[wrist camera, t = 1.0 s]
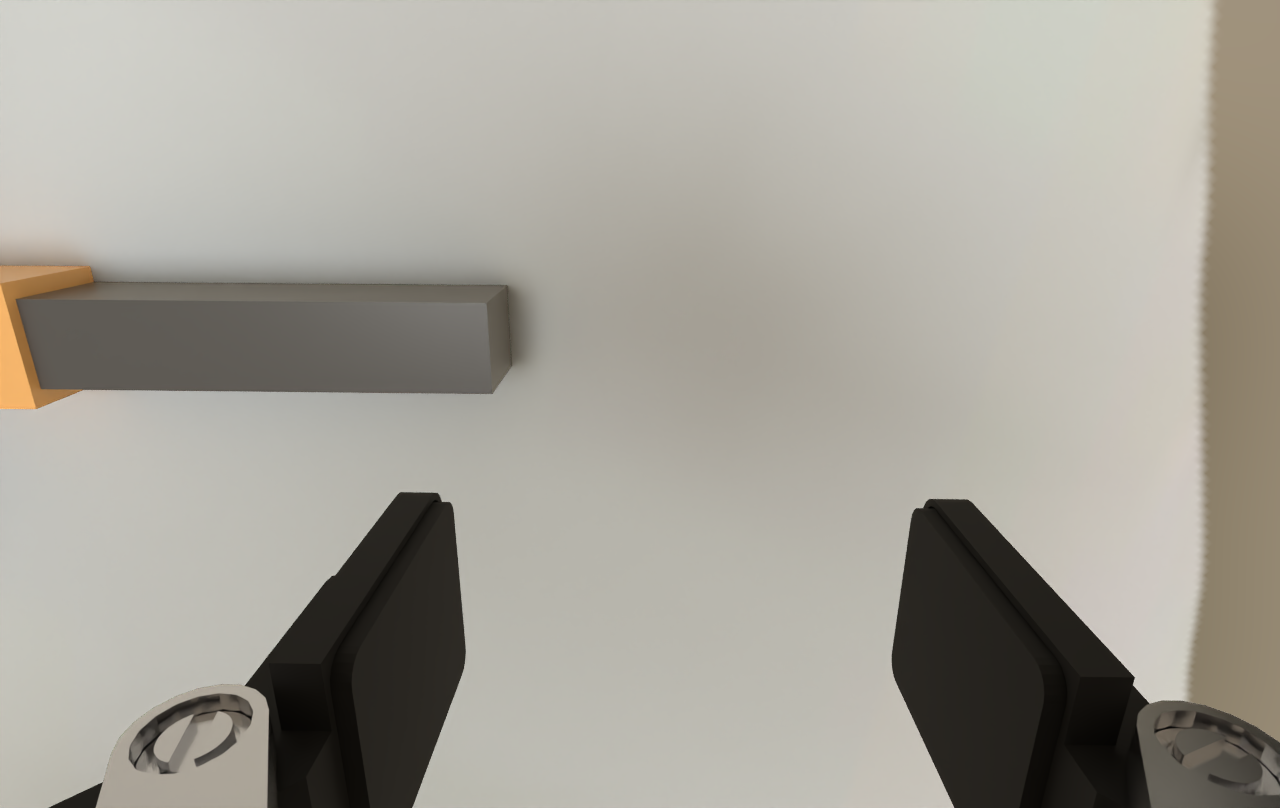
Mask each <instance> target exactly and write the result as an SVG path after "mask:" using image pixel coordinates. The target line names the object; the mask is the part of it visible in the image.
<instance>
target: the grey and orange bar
mask: <svg viewBox="0 0 1280 808" xmlns="http://www.w3.org/2000/svg"><path fill="white" fill-rule="evenodd" d="M511 366H512V362H511V344H510V326H509V308H508V290H507V285H418V284H290V283H162V282H94V280H93V276H92V272H91V268H90V266H0V409H37V408H40V407H42V406H45V405H47V404H50V403H52V402H55V401H57V400H60V399H62V398H65V397H67V396H70V395H72V394H75V393H77V392H79V391H82V390H165V391H263V392H360V393H458V394H493V392H494V391H495V389H496V388H497V387H498V385H499V384H500V382H501V381H502V379H503V378H504V376H505V375H506V373H507V372H508V371H509V369H510V368H511Z"/></svg>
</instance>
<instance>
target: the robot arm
mask: <svg viewBox="0 0 1280 808" xmlns="http://www.w3.org/2000/svg"><path fill="white" fill-rule="evenodd" d="M465 654H466V649H465V636H464V624H463V613H462V602H461V591H460V579H459V568H458V557H457V545H456V534H455V523H454V512H453V507H452V504H451V503H450V502H441V498H440V496H439V494H438V493H412V492H400V493H399V494H398V495H397V496H396V497H395V499H394V500H393V501H392V503H391V504H390V505H389V506H388V508H387V509H386V510H385V512H384V513H383V514H382V516H381V517H380V518H379V519H378V521H377V522H376V523H375V525H374V526H373V527H372V529H371V530H370V531H369V532H368V534H367V535H366V536H365V538H364V539H363V540H362V542H361V543H360V544H359V545H358V547H357V548H356V549H355V551H354V552H353V553H352V555H351V556H350V557H349V559H348V560H347V561H346V562H345V564H344V565H343V566H342V568H341V569H340V570H339V572H338V573H337V574H336V575H335V576H332V577H331V578H329V579H328V580H327V581H326V582H325V584H324V585H323V586H322V587H321V589H320V590H319V591H318V593H317V594H316V595H315V596H314V598H313V599H312V600H311V602H310V603H309V604H308V605H307V607H306V608H305V609H304V611H303V612H302V613H301V614H300V616H299V617H298V618H297V620H296V621H295V622H294V623H293V625H292V626H291V627H290V628H289V630H288V631H287V632H286V634H285V635H284V636H283V637H282V639H281V640H280V641H279V643H278V644H277V645H276V646H275V648H274V649H273V650H272V652H271V653H270V654H269V655H268V657H267V658H266V659H265V661H264V662H263V663H262V664H261V666H260V667H259V668H258V670H257V671H256V672H255V673H254V675H253V676H252V677H251V679H250V680H249V681H248V682H247V684H246V685H245V686H243V685H232V684H220V685H214V686H209V687H203V688H198V689H195V690H192V691H189V692H187V693H184V694H181V695H178V696H175V697H173V698H171V699H169V700H167V701H166V702H164V703H162V704H160V705H158V706H156V707H154V708H152V709H151V710H150V711H148V712H147V713H146V714H144V715H143V716H141V717H140V718H139V719H137V720H136V721H135V722H133V724H132V725H131V726H130V727H129V728H128V729H127V730H126V731H125V732H124V733H123V734H122V735H121V736H120V737H119V739H118V741H117V743H116V745H115V747H114V749H113V751H112V753H111V755H110V759H109V762H108V766H107V769H106V773H105V777H104V780H103V782H102V783H100V784H98V785H96V786H94V787H92V788H90V789H88V790H85V791H83V792H81V793H79V794H77V795H75V796H73V797H70V798H68V799H66V800H64V801H62V802H60V803H58V804H55V805H53V806H51V807H49V808H412V807H413V804H414V802H415V799H416V796H417V794H418V791H419V788H420V786H421V783H422V780H423V777H424V775H425V772H426V769H427V767H428V764H429V761H430V759H431V756H432V753H433V751H434V748H435V745H436V743H437V740H438V737H439V735H440V732H441V729H442V727H443V724H444V721H445V719H446V716H447V713H448V711H449V708H450V705H451V703H452V700H453V697H454V695H455V692H456V689H457V687H458V684H459V681H460V678H461V676H462V673H463V669H464V664H465ZM892 669H893V674H894V678H895V681H896V683H897V685H898V687H899V690H900V692H901V694H902V696H903V698H904V700H905V702H906V705H907V707H908V709H909V711H910V713H911V715H912V718H913V720H914V722H915V724H916V726H917V728H918V730H919V733H920V735H921V737H922V739H923V741H924V743H925V745H926V748H927V750H928V752H929V754H930V756H931V758H932V761H933V763H934V765H935V767H936V769H937V771H938V773H939V776H940V778H941V780H942V782H943V784H944V786H945V789H946V791H947V793H948V795H949V797H950V799H951V801H952V804H953V806H954V808H1280V742H1278V741H1277V740H1275V739H1274V738H1272V737H1271V736H1269V735H1268V734H1266V733H1265V732H1263V731H1262V730H1260V729H1259V728H1257V727H1256V726H1254V725H1251V724H1249V723H1247V722H1245V721H1243V720H1241V719H1239V718H1237V717H1235V716H1233V715H1231V714H1228V713H1225V712H1223V711H1220V710H1217V709H1214V708H1211V707H1208V706H1206V705H1200V704H1196V703H1191V702H1186V701H1158V702H1155V703H1151V704H1149V702H1148V701H1147V700H1146V699H1145V698H1144V697H1143V696H1142V695H1141V694H1140V693H1139V692H1138V690H1137V689H1136V688H1135V687H1134V686H1133V682H1134V678H1135V677H1134V676H1133V675H1132V674H1131V673H1130V672H1129V671H1128V670H1127V669H1126V668H1125V666H1124V665H1123V664H1122V663H1121V662H1120V661H1119V660H1118V659H1117V658H1116V657H1115V656H1114V655H1113V654H1112V653H1111V651H1110V650H1109V649H1108V648H1107V647H1106V646H1105V645H1104V644H1103V643H1102V642H1101V641H1100V640H1099V639H1098V637H1097V636H1096V635H1095V634H1094V633H1093V632H1092V631H1091V630H1090V629H1089V628H1088V627H1087V626H1086V625H1085V624H1084V622H1083V621H1082V620H1081V619H1080V618H1079V617H1078V616H1077V615H1076V614H1075V613H1074V612H1073V611H1072V610H1071V608H1070V607H1069V606H1068V605H1067V604H1066V603H1065V602H1064V601H1063V600H1062V599H1061V598H1060V597H1059V596H1058V595H1057V593H1056V592H1055V591H1054V590H1053V589H1052V588H1051V587H1050V586H1049V585H1048V584H1047V583H1046V582H1045V581H1044V579H1043V578H1042V577H1041V576H1040V575H1039V574H1038V573H1037V572H1036V571H1035V570H1034V569H1033V568H1032V567H1031V566H1030V564H1029V563H1028V562H1027V561H1026V560H1025V559H1024V558H1023V557H1022V556H1021V555H1020V554H1019V553H1018V552H1017V550H1016V549H1015V548H1014V547H1013V546H1012V545H1011V544H1010V543H1009V542H1008V541H1007V540H1006V539H1005V538H1004V537H1003V535H1002V534H1001V533H1000V532H999V531H998V530H997V529H996V528H995V527H994V526H993V525H992V524H991V523H990V521H989V520H988V519H987V518H986V517H985V516H984V515H983V514H982V513H981V512H980V511H979V510H978V509H977V508H976V506H975V505H974V504H973V503H972V502H970V501H969V500H958V499H929V500H928V501H927V502H926V503H925V505H924V508H916V509H915V510H914V512H913V514H912V518H911V524H910V531H909V538H908V545H907V552H906V559H905V566H904V573H903V580H902V587H901V594H900V601H899V608H898V615H897V622H896V629H895V636H894V643H893V650H892Z"/></svg>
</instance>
